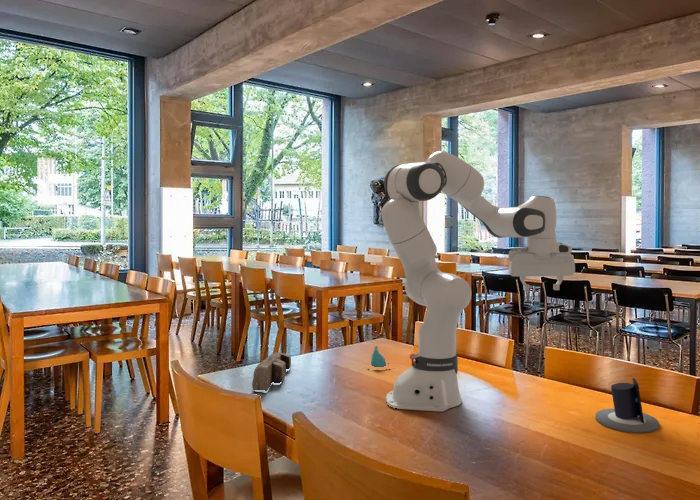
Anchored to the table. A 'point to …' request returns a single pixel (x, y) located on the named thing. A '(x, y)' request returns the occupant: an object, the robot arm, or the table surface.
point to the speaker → (627, 400)
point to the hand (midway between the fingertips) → (541, 290)
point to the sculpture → (271, 371)
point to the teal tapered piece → (377, 359)
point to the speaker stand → (627, 422)
